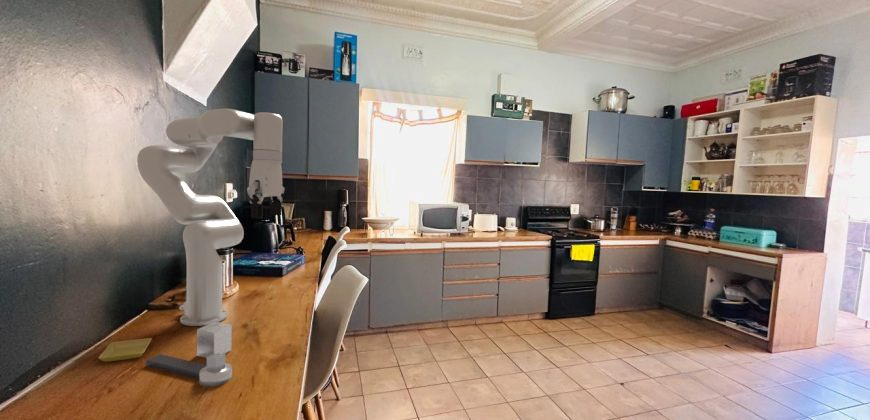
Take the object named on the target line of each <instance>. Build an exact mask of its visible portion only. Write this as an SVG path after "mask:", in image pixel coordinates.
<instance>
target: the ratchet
mask: <svg viewBox="0 0 870 420" xmlns="http://www.w3.org/2000/svg"><path fill="white" fill-rule="evenodd" d="M145 366H146V367H148V368H153V369H156V368H157V369H156V370H159V369H162V370H161V371H163V370H165V372H167V371H168V372H167V373H171V372H173V374H175V373H177V374H176V375H179V374H180V376H184V377H187V378H192V379H196V380H198V383H199V384H200V386H202V387H211V388H212V387H215V386H217V387H218V386H220V385H223V384H225V383H227V382H228V381H230V380H231V379H232V376H233V365H232V364H231V363H228V362H226V353H225V354H220V353H215V354H213V355H211V356H209V357H207V358H206V364H204V363H199V362H194V361H191V360H187V359H183V358H179V357H174V356H170V355H167V354H161V353H158V354H156V355H154V356H152V357H149V358H147V359H146V360H145Z"/></svg>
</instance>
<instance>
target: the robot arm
mask: <svg viewBox="0 0 870 420" xmlns="http://www.w3.org/2000/svg"><path fill="white" fill-rule="evenodd" d="M283 124H284V120H283V117H282V116H281V115H280V114H277V113H272V112H264V111H263V112H262V111H261V112H256V113H249V112H245V111H242V110H238V109H232V108H217V109H215V108H214V109H208V110H206V111H204V112H202V114H201V115H200V116H193V117H187V118H180V119H174V120H173V121H171V122H169V123H168V124H167V126H166V128H165V134H166V137H167V138H168V140H170V141H171V142H172V143H173V144H175V145H177V146H171V145H164V144H163V145H161V144H157V145H156V144H155V145H147V146H145V147H143V148H142V149H140V150H139V152H138V153H137V161H136V163H138V164H137V169H138V172H139V174H140V176H141V178H142V179H143V181H144V182H145V183H146V185H148V187H149V188H151V190H153V192H154V193H155V194H156V195H157V197H158V198H159V199H160V201H161V202H162V203H163V205H164V206H165V208H166V209H167V210H168V212H169V214H170V215H171V216H172V218H173V219H174V220H175V221H176V222H177V223H179V224H180V225H187V226H185V228H184V229H183V232H182V242H183V245H184V249H185V259H186V301H184V302H183V304H182V305H179V307H178V308H179V309H178V310H181V311H184V313H183V315H181V317H180V318H179V319H180V321H179V322H180V324H181V325H184V326H187V327H188V326H189V327H204V326H206V325H208V324H211V323H213V322H221V321H223V320H225V319H226V318H227V317H228V311H227V310H226V309H223V260H222V258H221V257H220V255H219V254H218V252H217V250H218V249H223V248H230V247H234V246H236V245H238V244H240V243H242V240H243V239H244V235H245V233H244V232H245V231H244V227H243V225H242V223H241V222H240V220H239V218H238V217H236V215H235V213H234V212H233V211H232V209H231V207H229V205H228V204H227V203H226V201H225V200H223V198H221V197H220V196H217V195H215V194H198V193H195V192H194V191H193V190H192V189H191V188H190V187H189V185H188V183H186V182H185V181H184V180H183V179H182V178H180V177H179V176H177V175H175V174H173V173H180V174H181V173H182V174H192V173H196V172H198V171H200V170H201V169H202V168H203V167H204V165H205V164H206V163H207V161H208V160H209V158H210V157H211V155H212V154H213V153H214V151H215V150H216V148H217V147H218V144H219V143H221V141H222V140H223V138H224V137H231V138H238V139H244V140H249V141H253V142H252V144H253V145H252V146H253V149H252V151H253V152H252V157H253V158H252V161H251V165H250V171H249V179H248V181H249V182H248V187H247V188H246V192H247V195H248V199H249V204H250V218H252V219H263V218H264V203H263V201H264V198H270V199H271V201H270V211H269V212H270V215H271V216H282V203H283V197H284V193H285V189H286V188H285V187H284V186H283V170H282V163H283V134H284V133H283V130H284V129H283ZM180 146H181V147H180Z"/></svg>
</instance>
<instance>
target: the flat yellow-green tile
mask: <svg viewBox="0 0 870 420" xmlns="http://www.w3.org/2000/svg"><path fill="white" fill-rule="evenodd" d="M152 339H153V338H152V337H149V338H148V337H147V338H139V339H129V340H122V341H121V340H120V341H112V342H110V343H109V344H108V345H107V347H106V348H105V349H104V350H103V351H102V353H101V354H100V355H99V357H98V359H99V360H100V361H103V362H105V363H108V362H117V361H123V360H132V359H138V358H141V357H142V356H143V355H144V353H145V352H146V350H147V349H148V346H149V345H150V343H151V341H152Z"/></svg>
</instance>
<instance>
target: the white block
mask: <svg viewBox="0 0 870 420" xmlns="http://www.w3.org/2000/svg"><path fill="white" fill-rule="evenodd" d="M232 327H233V326H232V324H228V323H224V322H221V321H219V322H213V323H211V324H208V325H203V326H200V328H196V329H197V330H196V332H197V333H196V356H197V357H201V358H205V359H207V357H209V356H211V355H213V354H215V353H220V354H225V355H226V354H227V353H229V352H231V351H232V335H233V333H232V332H233V331H232V330H233V329H232Z"/></svg>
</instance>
